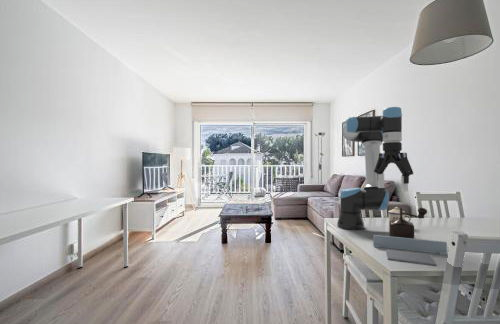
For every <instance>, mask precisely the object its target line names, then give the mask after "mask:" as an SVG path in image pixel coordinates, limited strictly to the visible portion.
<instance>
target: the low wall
mask: <svg viewBox="0 0 500 324" xmlns="http://www.w3.org/2000/svg"><path fill="white" fill-rule="evenodd" d="M372 239H373V240H372V243H373V244H372V245H373V248H379V249H380V248H387V249H393V250H402V251H405V250H406V251H411V252H420V253H429V254H431V253H433V254H439V255H440V256H447V255H448V254H447V253H448V249H447V247H448V245H447V241H443V240H442V241H441V240H431V239H430V240H429V239H420V238H414V239H412V238H401V237H391V236H389V235H380V234H379V235H378V234H373V237H372Z"/></svg>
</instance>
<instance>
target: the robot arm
mask: <svg viewBox="0 0 500 324" xmlns="http://www.w3.org/2000/svg"><path fill="white" fill-rule="evenodd" d="M402 121H403V113H402V108H401V107H399V106H391V107H385V108H383V109H382V114H381V115H373V116H371V115H370V116H351V117H347V118H346V119H345V125H344V127H343V128H342V130H341V134H342V136H343V138H344V139H346V140H347V141H350V142H355V143H356V142H357V143H361V146H363V147H364V161H365V181H366V185H365V186H364V187H363V190H362V189H361V187H349V188H343V189H341V190H340V193H339V198H340V201H339V202H340V203H339V205H340V206H339V208H340V209H339V212H340V213H339V216H338V219H337V225H336V226H337V227H338V228H340V229H344V230H355V231H356V230H363V229H364V228H365V223H364V220H363V217H362V213H361V211H378V212H379V211H386V210H387V209H388V207H389V203H390V193H389V191H388V190H386V187H385V173H384V172H385V170H386V169H387V167H388V166H389V164H394V165H396V167H397V168H398V170H399V171H400V174H401V176H400V181H401V182H400V191H401V192H409V184H410V183H409V182H410V176H411V175H414V170H413V169H412V165H411V163H410V161H409V159H408V153H407V152H401V151H402V149H403V148H402V147H403V143H402V141H403V138H402V137H403V136H402V134H403V133H402V131H403V129H402V125H403V124H402V123H403V122H402ZM381 145H382V151H383V153H382V152H381Z"/></svg>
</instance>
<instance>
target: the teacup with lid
mask: <svg viewBox="0 0 500 324" xmlns="http://www.w3.org/2000/svg"><path fill="white" fill-rule="evenodd" d="M402 211H403V210H402ZM403 212H404V213H406V211H403ZM406 217H408V220H407V221H408V222H411V220H412V219H411V216H409V215H405V214H403V213H402V218H403V219H404V220H406ZM397 219H400V208H399V207H398V206H397V207H396V206H395V207H394V208H393V209H390V210H388V222H389V221H395V220H397Z"/></svg>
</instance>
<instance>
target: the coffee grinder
mask: <svg viewBox="0 0 500 324" xmlns="http://www.w3.org/2000/svg"><path fill="white" fill-rule="evenodd" d="M399 209H400V219H397V220H395V221H389V220H388V236H391V237H401V238H412V239H415V225H414V223H413V222H412V221H410V222H408V221H409V220H406V219H405V220H404V219H403V218H402V213H403V214H405V215H408V216H410V217H412V218H417V219H425V216H426V215H427V214H428V210H427V209H426V208H424V207H418V208H417V213H418V214H417V215H415V214H411V213H408V212H405V211H404V212H405V213H404V212H403V208H402V207H401V208H399Z"/></svg>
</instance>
